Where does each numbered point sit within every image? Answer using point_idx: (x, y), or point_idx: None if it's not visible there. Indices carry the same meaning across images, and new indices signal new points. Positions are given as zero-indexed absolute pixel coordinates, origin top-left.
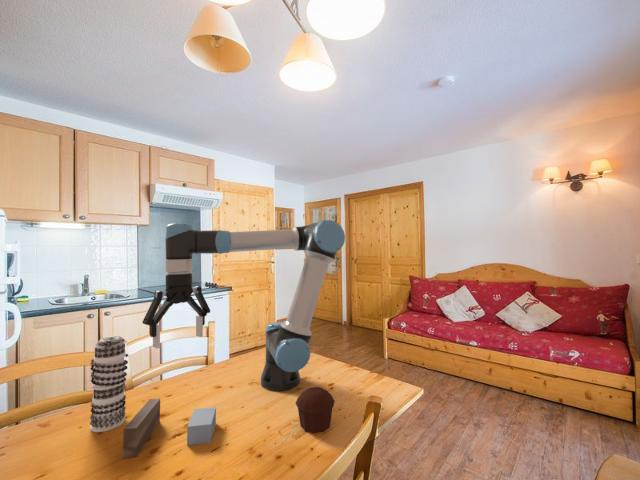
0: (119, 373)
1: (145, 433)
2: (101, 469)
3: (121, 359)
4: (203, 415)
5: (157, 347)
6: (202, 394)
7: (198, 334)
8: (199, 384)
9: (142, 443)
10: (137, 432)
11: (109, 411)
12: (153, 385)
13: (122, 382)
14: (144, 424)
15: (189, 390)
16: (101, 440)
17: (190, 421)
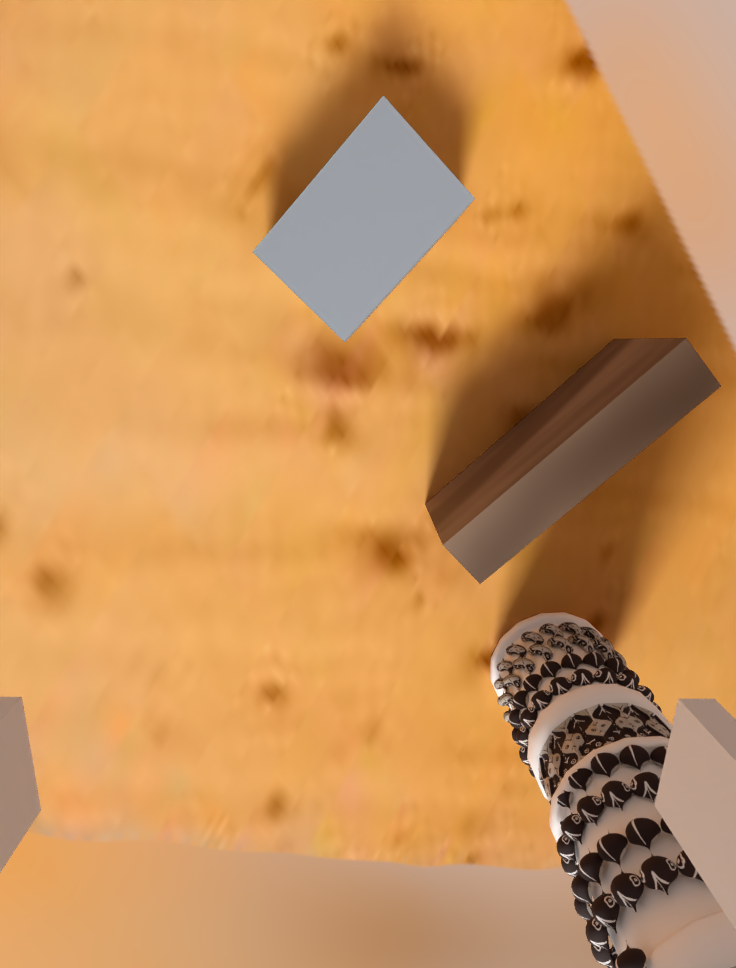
0: (654, 810)
1: (560, 403)
2: (716, 373)
3: (698, 916)
4: (354, 228)
5: (721, 708)
6: (156, 578)
7: (11, 775)
8: (110, 685)
9: (573, 381)
10: (659, 346)
11: (604, 661)
12: (271, 836)
13: (606, 753)
14: (592, 400)
15: (180, 666)
16: (622, 564)
17: (434, 234)
